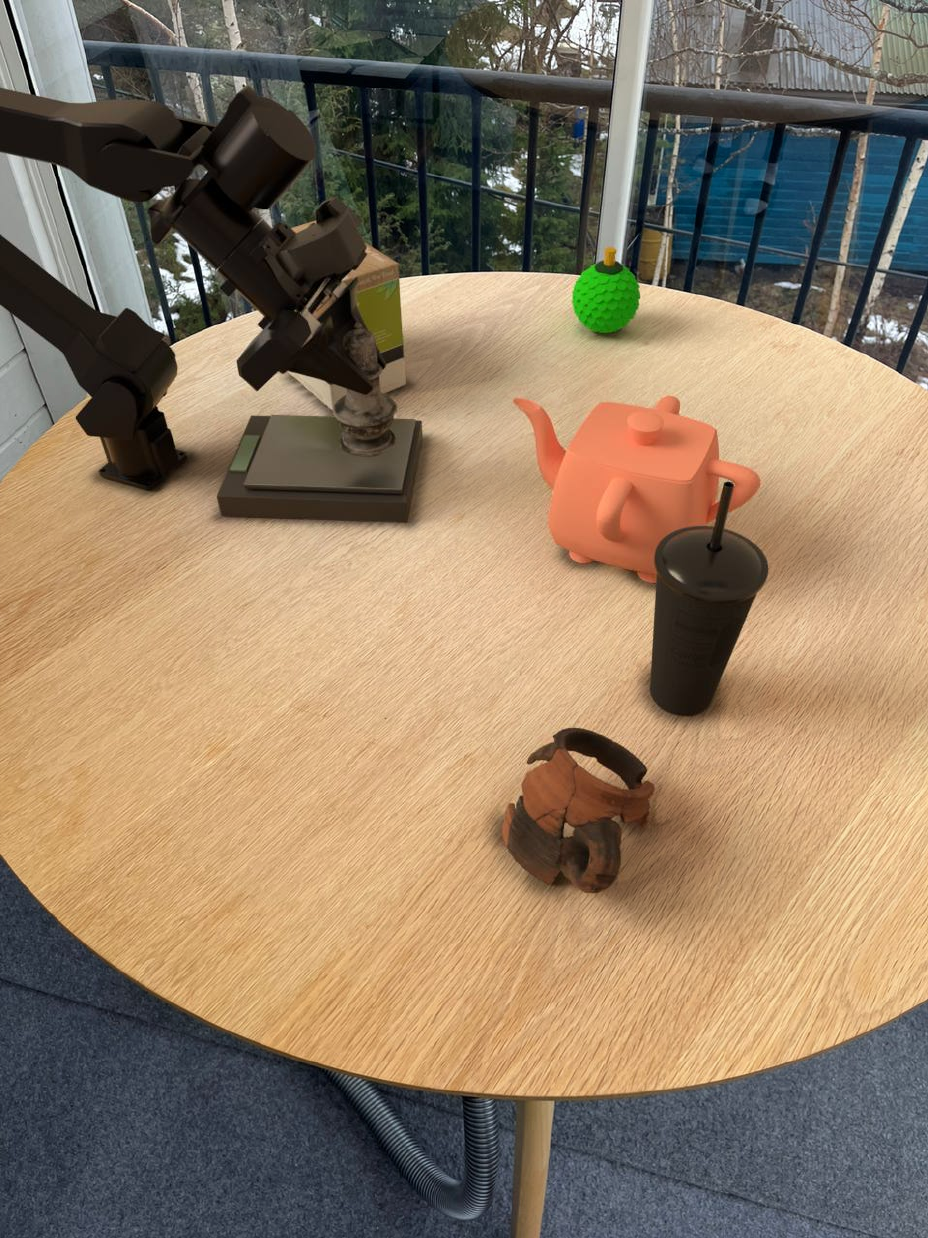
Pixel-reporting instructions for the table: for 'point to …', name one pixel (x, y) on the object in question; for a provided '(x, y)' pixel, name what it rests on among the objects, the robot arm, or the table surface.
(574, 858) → the pottery mug
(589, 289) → the ornament
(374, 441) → the chess piece
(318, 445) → the scale pan
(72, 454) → the table surface
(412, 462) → the scale
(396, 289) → the tea box
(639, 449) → the teapot
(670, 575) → the drinking cup
